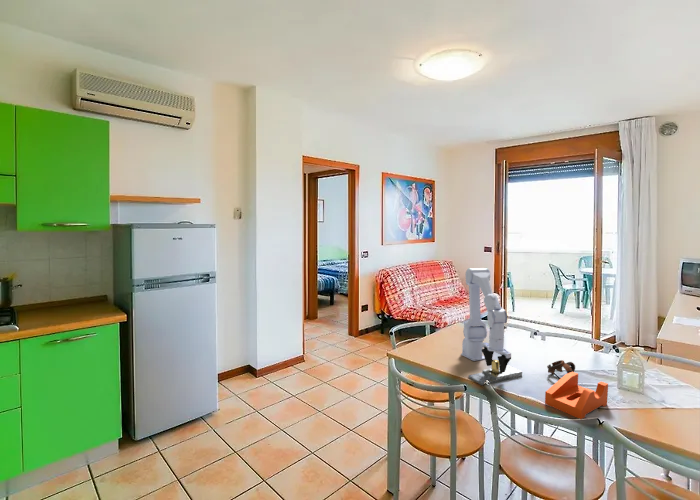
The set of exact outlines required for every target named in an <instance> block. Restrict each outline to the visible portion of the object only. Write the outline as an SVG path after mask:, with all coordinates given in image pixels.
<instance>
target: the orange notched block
mask: <svg viewBox="0 0 700 500" xmlns="http://www.w3.org/2000/svg"><path fill="white" fill-rule="evenodd" d="M608 392H609V383H607V382H604V381H599V382H597V385H596V390H593V389H590V388H586V387H583V386H581V385H579V373H578V372H575V371H574V372H570V373H568V374H567V373H566V374H564V375H563V376H562V377H561V378H559V380H558V381H556V382H555V383H554V384H552V385H551V387H549V388H548V389H547V390H546V391H545V395H544V404H545V405H547V406H549V407H552V408H553V409H556V410H558V411H560V412H563V413H566V414H568V415H570V416H573V417H575V418H577V419H579V418H580V419H579V420H582V418H583V419H584V418H586V415H588V414H589V413H591V412H592V411H594V410H597V409H598V408H599V407H602V406H603V408H604V407H605V406H607V405H608V394H609V393H608Z"/></svg>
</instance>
